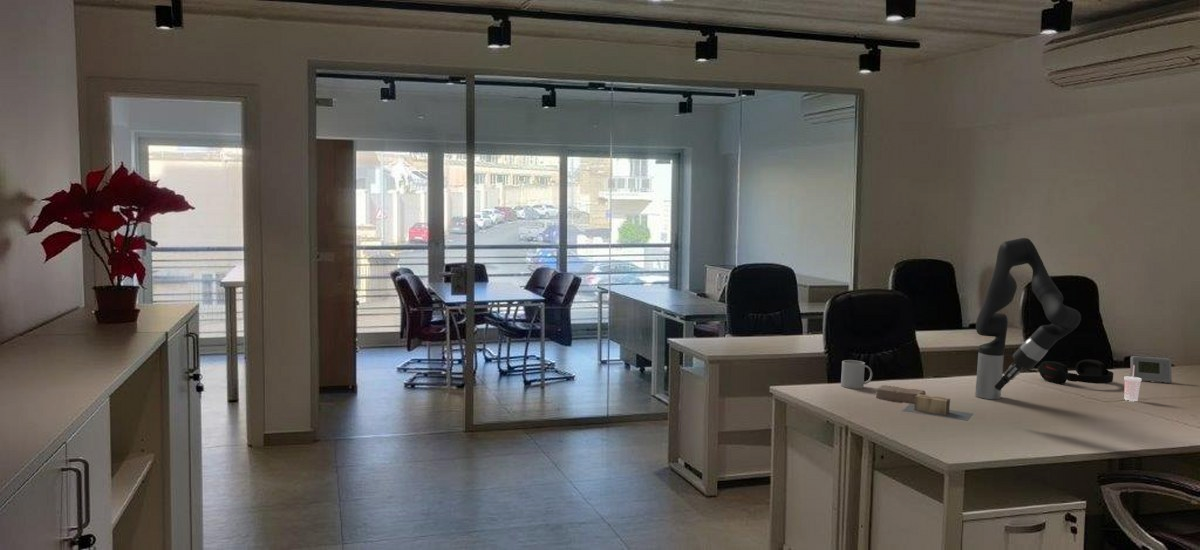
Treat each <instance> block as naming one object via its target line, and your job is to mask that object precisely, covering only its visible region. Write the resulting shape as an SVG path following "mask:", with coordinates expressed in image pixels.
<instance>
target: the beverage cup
mask: <svg viewBox="0 0 1200 550" xmlns="http://www.w3.org/2000/svg"><path fill="white" fill-rule="evenodd" d="M1134 368H1135V365H1133V375H1132V377H1131V375H1130V376H1128V375H1127V376H1125V375H1124V377H1123V379H1124V396H1123V397H1124V398H1123V400H1124V399H1125V400H1124V401H1127V400H1129V401H1128V402H1134V401H1137V402H1138V400H1139V394H1140V388H1141V382H1142V379H1141V378H1138V377H1134Z"/></svg>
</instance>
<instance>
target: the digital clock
mask: <svg viewBox="0 0 1200 550" xmlns="http://www.w3.org/2000/svg"><path fill="white" fill-rule="evenodd" d="M1129 361H1130V363H1129V364H1130V369H1129V371H1130V377H1132V375H1133V365H1135V368H1134V377H1138V378H1141V379H1142V381H1154V382H1164V384H1172V382H1173V381H1172V380H1173V379H1172V378H1173V376H1172V375H1173V374H1172V359H1170V358H1166V357H1165V358H1163V357H1154V356H1140V355H1139V356H1137V355H1132V356H1130V358H1129ZM1142 381H1141V382H1142ZM1154 382H1153V383H1154Z"/></svg>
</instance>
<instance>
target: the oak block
mask: <svg viewBox="0 0 1200 550" xmlns="http://www.w3.org/2000/svg"><path fill="white" fill-rule="evenodd" d="M950 403H951V398H949V397H941V396H940V397H939V396H934V395H928V394H926V395H921V394H918V395H917V396H915V403H914V405H915V407H914V410H916V411H923V412H929V413H936V414H943V415H947V414H948V413H949V410H950V406H951V405H950Z"/></svg>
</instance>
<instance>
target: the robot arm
mask: <svg viewBox="0 0 1200 550" xmlns="http://www.w3.org/2000/svg"><path fill="white" fill-rule="evenodd" d="M996 256H997V257H996V262H995V266H994V267H995V268H994V270H993V274H992V277H991V280H990V282H989V285H988V288H987V292H986V294H985V295H986V296H985V299H984V303H983V305H982V307H981V309H980V311H979V313H978V316H977V317H976V318H977V319H976V322H975V331H976V333H977V334H978V335H980V336H984V337H995V338H994V339H993V340H991V341H989V342H987V343H982V344H980V345H979V346H978V352H977V353H978V355H977V369H976V381H975V393H974V395H975V397H977V398H980V399H986V400H1001V398H1002V389H1003V388H1004V386H1005V387H1006V385H1007V384H1009V383H1010V381H1013V380H1014V379H1015V378H1016V377H1017V376H1018V375H1020V374H1021V373H1022V372H1023V370H1024V369H1026V370H1033V368H1034V367H1035V366H1036V365H1037V364H1038V363H1039V362H1040V361H1041V360H1042V359H1043V358H1044V357H1045V356H1046V354H1047V353H1048V352H1049V351H1050V349H1051V348H1052V347H1053V346H1054V345H1055V344H1056V343H1057V342H1058V341H1060V340H1062V339H1063V338H1065V337H1066V336H1067V335H1069V334H1070V333H1072V332H1073V331H1075V329H1077V328H1078V326H1079V325H1080V323H1081V321H1082V314H1081V313H1080V312H1079V310H1077V309H1075V308H1072V307H1070V306H1067V305H1065V304H1064V303H1063V302H1064V296H1063V293H1062V292H1061V291H1060V290H1059V288H1058V287H1057V285H1056V284H1055V282H1054V280H1053V279H1052V278H1051V277H1050V275H1049V273H1048V270H1047V269H1046V266H1045V264H1044V262H1043V259H1042V258H1041V256H1040V254H1039V251H1038V249H1037V248H1036V246H1035V244H1034V243H1033V242H1032V240H1031V239H1029V237H1028V238H1027V237H1022V238H1017V239H1016V238H1015V239H1011V240H1007V241H1004V242H1003V241H1002V243H1000V245H999V247H998V250H997V255H996ZM1025 264H1028V265H1029V266H1030V268H1031V270H1032V276H1031V290H1032V292H1033V293H1034V296H1036V298H1037V300H1038V301H1039V303H1040V304H1041V306H1042V309H1043V312H1044V315H1045V317H1046V318H1047V320H1048V321H1049V322H1050V324H1043V325H1040V326H1039V327H1038V328H1037V329H1036V330H1035V331H1034V332H1033V333H1032V334H1031V335H1030V336H1029V337H1028V338H1027V339H1025V340H1024V342H1023V343H1022V344H1021V345H1020V346H1018V348H1017V349H1016V350H1015V352H1014V353H1013V354H1012V358H1013V359H1012V360H1014V361H1015V362H1014V361H1013V362H1012V363H1011V364H1010V365H1009V366H1008V368H1007V369H1006V371H1004V363H1005V362H1004V361H1005V360H1004V359H1005V350H1006V340H1007V332H1008V326H1009V325H1008V321H1009V320H1008V316H1007V315H1006V314H1005V313H1003V312H1002V313H1001V312H1000V311H1001V310H1003V309H1004V308H1005V307H1008V306H1009V305H1010V304H1011V303H1012V302H1013V300H1014V298H1015V294H1016V292H1017V289H1018V285H1017V281H1016V279H1015V278H1014V276H1013V275H1012V274H1011V272H1010V271H1011V270H1012V268H1013V267H1016V266H1021V265H1025ZM999 312H1000V313H999Z"/></svg>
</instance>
